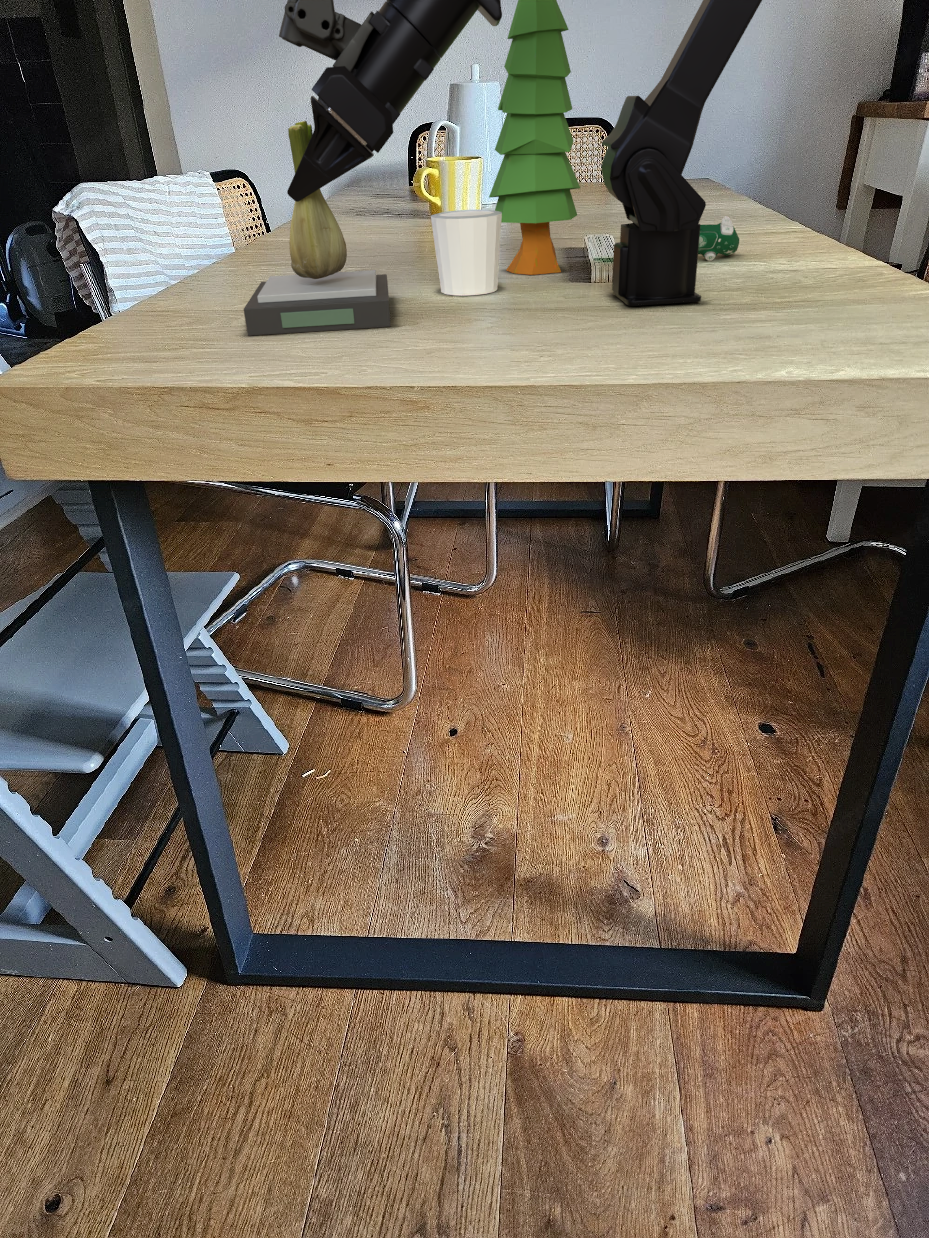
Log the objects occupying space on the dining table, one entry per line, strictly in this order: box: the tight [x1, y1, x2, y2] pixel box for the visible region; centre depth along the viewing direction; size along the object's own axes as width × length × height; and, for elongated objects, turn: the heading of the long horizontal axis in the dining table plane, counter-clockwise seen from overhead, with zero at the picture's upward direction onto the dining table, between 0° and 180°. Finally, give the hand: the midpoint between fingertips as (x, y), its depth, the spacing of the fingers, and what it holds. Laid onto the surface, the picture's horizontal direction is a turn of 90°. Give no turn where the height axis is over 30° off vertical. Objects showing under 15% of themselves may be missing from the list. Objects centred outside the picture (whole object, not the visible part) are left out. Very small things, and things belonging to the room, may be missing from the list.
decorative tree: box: [488, 0, 581, 276], centre depth 89 cm, size 10×9×30 cm
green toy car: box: [698, 215, 740, 262], centre depth 97 cm, size 9×4×6 cm
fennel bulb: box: [287, 120, 348, 279], centre depth 75 cm, size 6×5×12 cm
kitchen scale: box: [243, 269, 392, 337], centre depth 79 cm, size 12×13×3 cm
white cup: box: [430, 209, 502, 297], centre depth 86 cm, size 7×7×7 cm
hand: (294, 194), depth 75 cm, fingers closed on fennel bulb, 6 cm apart
